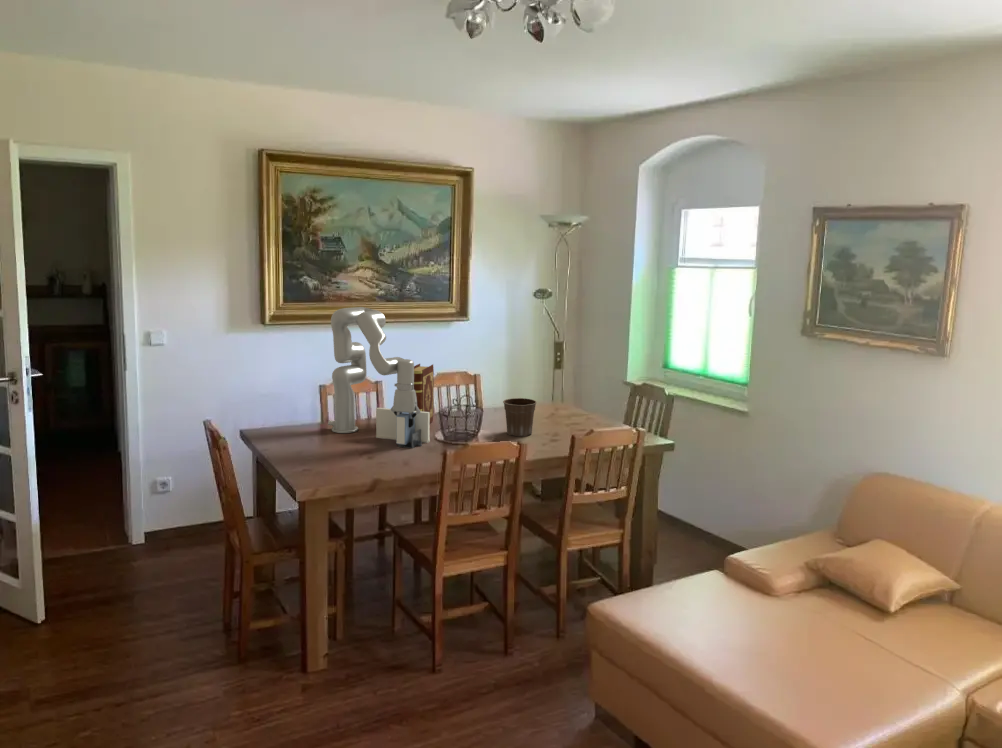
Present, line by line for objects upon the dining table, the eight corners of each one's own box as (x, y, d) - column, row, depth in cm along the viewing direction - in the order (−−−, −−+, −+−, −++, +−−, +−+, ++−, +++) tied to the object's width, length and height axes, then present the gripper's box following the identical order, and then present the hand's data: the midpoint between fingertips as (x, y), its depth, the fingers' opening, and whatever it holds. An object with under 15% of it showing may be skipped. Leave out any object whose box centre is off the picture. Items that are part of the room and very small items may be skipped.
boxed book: (395, 444, 347) (395, 416, 345) (405, 438, 358) (405, 411, 355) (405, 445, 346) (405, 416, 344) (414, 439, 356) (414, 411, 354)
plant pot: (509, 438, 366) (510, 405, 364) (497, 430, 381) (498, 399, 378) (540, 436, 372) (542, 403, 369) (527, 428, 387) (528, 397, 384)
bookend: (397, 446, 348) (397, 432, 347) (406, 441, 357) (406, 427, 356) (417, 448, 345) (417, 434, 344) (425, 443, 355) (425, 429, 354)
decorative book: (420, 431, 376) (420, 371, 371) (404, 430, 378) (404, 370, 373) (433, 421, 398) (434, 364, 393) (418, 420, 399) (419, 363, 394)
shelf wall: (376, 437, 363) (375, 408, 360) (378, 436, 366) (378, 407, 363) (427, 442, 356) (427, 413, 353) (430, 441, 359) (430, 411, 356)
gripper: (384, 386, 346) (384, 426, 349) (419, 389, 342) (419, 429, 345) (391, 384, 353) (391, 422, 357) (426, 386, 349) (425, 426, 352)
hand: (405, 425), depth 351 cm, fingers closed on boxed book, 4 cm apart
